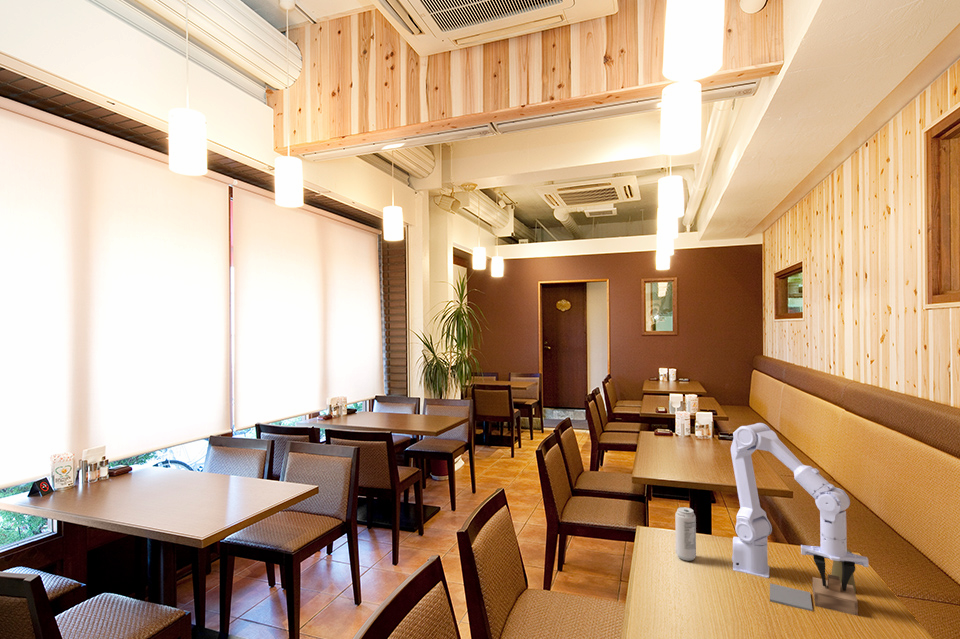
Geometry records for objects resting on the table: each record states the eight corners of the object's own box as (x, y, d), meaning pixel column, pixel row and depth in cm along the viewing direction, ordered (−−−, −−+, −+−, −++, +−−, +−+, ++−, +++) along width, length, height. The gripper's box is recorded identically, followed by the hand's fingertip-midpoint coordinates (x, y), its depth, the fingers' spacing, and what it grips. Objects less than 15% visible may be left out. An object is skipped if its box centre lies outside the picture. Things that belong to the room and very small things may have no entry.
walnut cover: (815, 606, 130) (814, 580, 130) (812, 590, 137) (812, 566, 137) (857, 616, 125) (857, 589, 125) (852, 599, 133) (852, 574, 133)
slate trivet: (769, 601, 132) (769, 599, 132) (770, 584, 140) (770, 583, 140) (812, 611, 127) (812, 609, 127) (810, 594, 135) (810, 592, 135)
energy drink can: (687, 551, 161) (687, 505, 161) (700, 559, 155) (699, 512, 156) (671, 553, 160) (671, 507, 160) (684, 562, 154) (683, 514, 154)
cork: (861, 595, 135) (860, 554, 135) (836, 592, 136) (835, 552, 136) (849, 583, 141) (848, 545, 141) (825, 581, 142) (824, 543, 142)
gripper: (801, 535, 132) (802, 586, 132) (870, 547, 124) (870, 601, 124) (800, 525, 138) (800, 574, 138) (865, 537, 130) (866, 588, 130)
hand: (833, 586), depth 131 cm, fingers open, 4 cm apart
